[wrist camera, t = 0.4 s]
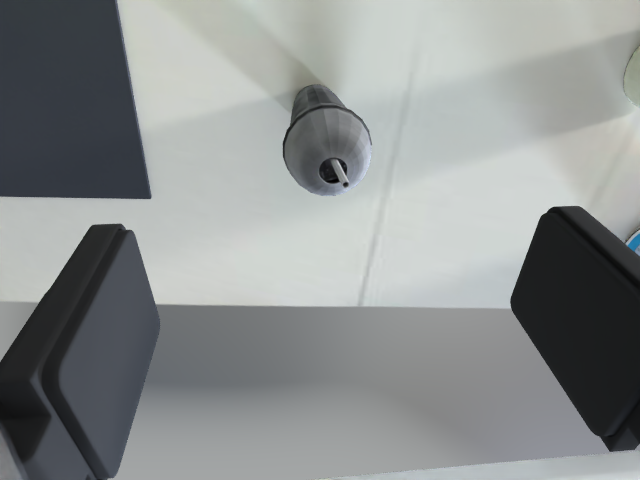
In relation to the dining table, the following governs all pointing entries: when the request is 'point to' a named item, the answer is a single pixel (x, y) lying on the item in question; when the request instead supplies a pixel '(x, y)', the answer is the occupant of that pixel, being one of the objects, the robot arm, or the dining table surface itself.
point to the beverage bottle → (634, 242)
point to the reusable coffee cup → (633, 79)
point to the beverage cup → (325, 143)
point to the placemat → (67, 103)
